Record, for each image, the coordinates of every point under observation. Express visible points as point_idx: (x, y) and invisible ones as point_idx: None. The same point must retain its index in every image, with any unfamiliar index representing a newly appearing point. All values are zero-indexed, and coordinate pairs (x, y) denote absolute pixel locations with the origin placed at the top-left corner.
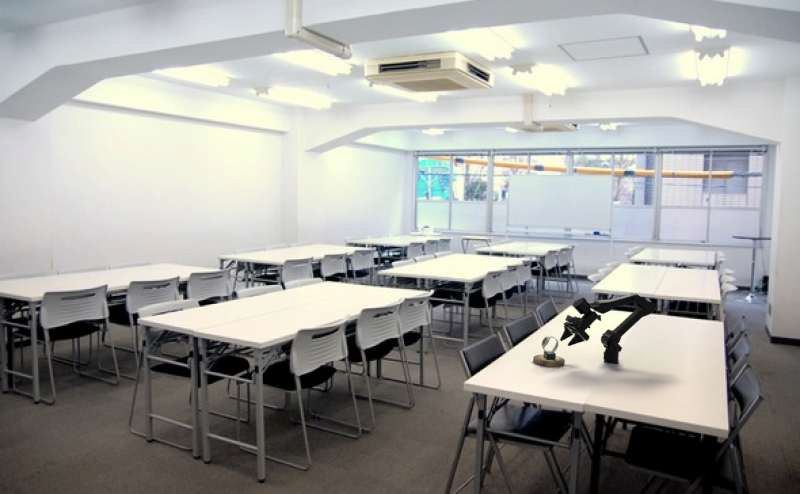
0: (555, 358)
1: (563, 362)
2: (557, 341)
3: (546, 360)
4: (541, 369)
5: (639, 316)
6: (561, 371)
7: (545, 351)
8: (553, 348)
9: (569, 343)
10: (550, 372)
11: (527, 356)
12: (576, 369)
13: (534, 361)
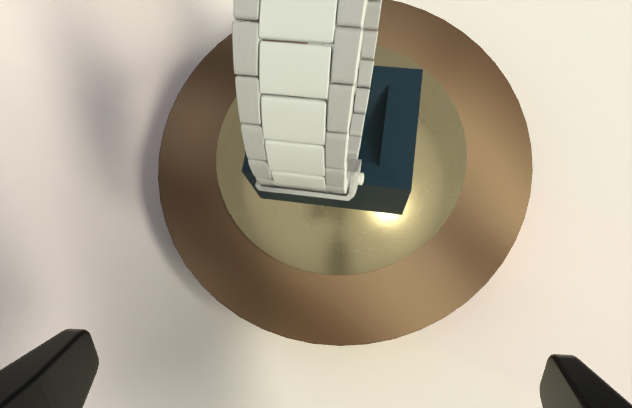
0: (257, 191)
1: (198, 277)
2: (246, 135)
3: None
4: (143, 21)
5: None
6: (45, 175)
7: (374, 74)
8: (351, 161)
9: (21, 364)
10: (47, 65)
11: (590, 34)
12: None
13: None
